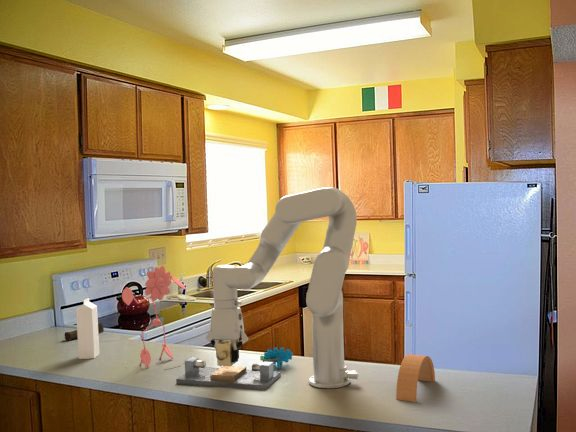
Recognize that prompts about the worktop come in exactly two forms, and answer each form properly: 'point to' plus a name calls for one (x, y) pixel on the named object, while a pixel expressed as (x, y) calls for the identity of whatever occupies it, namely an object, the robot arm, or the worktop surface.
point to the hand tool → (74, 335)
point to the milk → (87, 330)
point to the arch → (413, 375)
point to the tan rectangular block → (224, 353)
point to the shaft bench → (238, 383)
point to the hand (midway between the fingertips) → (227, 360)
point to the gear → (277, 356)
